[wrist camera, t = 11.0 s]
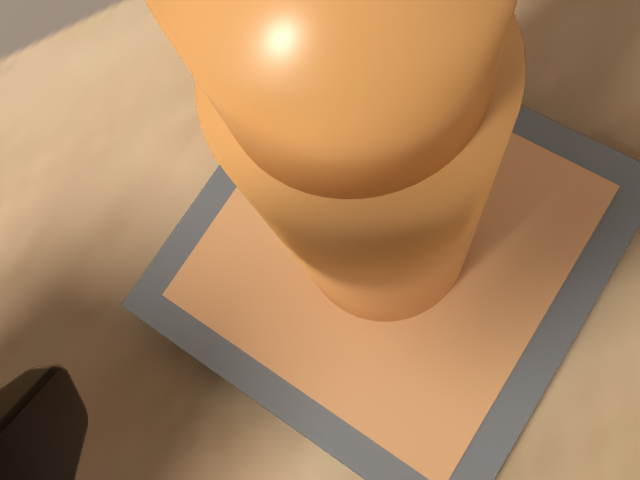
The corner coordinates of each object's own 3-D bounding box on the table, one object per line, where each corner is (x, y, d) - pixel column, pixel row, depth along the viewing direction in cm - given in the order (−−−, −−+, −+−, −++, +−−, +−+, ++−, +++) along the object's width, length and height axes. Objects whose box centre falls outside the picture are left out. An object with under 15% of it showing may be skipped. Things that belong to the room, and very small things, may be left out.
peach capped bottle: (478, 181, 18) (613, -274, 6) (449, 338, 17) (542, 175, 5) (325, 156, 19) (171, -282, 7) (289, 303, 18) (31, 92, 6)
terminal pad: (657, 185, 19) (669, 174, 18) (454, 538, 17) (456, 545, 16) (330, 25, 22) (326, 9, 21) (132, 309, 20) (119, 305, 19)
